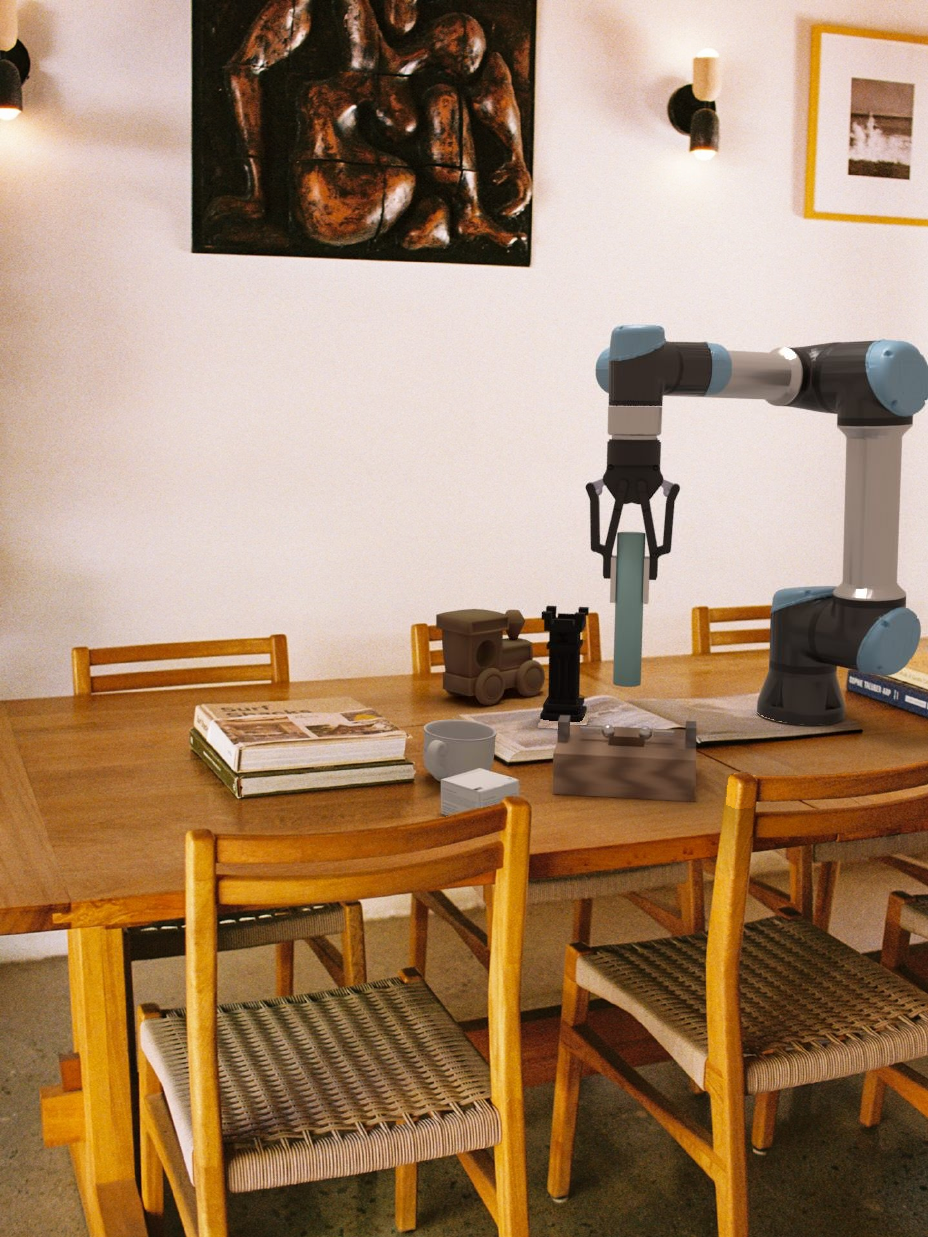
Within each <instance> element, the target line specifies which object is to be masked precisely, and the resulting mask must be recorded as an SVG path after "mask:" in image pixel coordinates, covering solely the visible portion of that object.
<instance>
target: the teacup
mask: <svg viewBox="0 0 928 1237" xmlns="http://www.w3.org/2000/svg"><path fill="white" fill-rule="evenodd" d="M422 730H423V746H422V747H423V749H422V750H423V751H422V753H423V758H422V759H423V764H424V767H425V769H426V771H427V772H428V773H430V775H432V776H433V779H435V780H436V781H438V782H440V783H441V779H445V778H448V777H452V776H455V775H459V774H462V773H466V772H469V771H472V770H475V769H478V768H481V769H485V770H488V771H491V772H492V768H493V764H494V759H495V758H494V757H495V750H496V749H495V748H496V737H497V734H498V731H497V730H496V728H495V727H493V726H491V725H489V724H487V723H484V722H483V723H482V722H480V721H473V720H469V719H439V720H433V721H431V722H428V723H426V724H424V726H423V728H422Z"/></svg>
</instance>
